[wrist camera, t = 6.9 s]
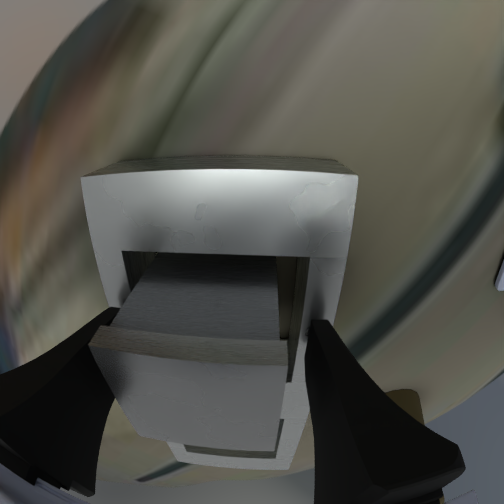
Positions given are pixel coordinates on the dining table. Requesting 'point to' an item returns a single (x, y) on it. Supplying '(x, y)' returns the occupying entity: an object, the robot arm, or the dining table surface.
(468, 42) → the dining table surface
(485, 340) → the dining table surface
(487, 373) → the dining table surface
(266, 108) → the dining table surface
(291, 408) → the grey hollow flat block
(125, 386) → the grey rectangular block
